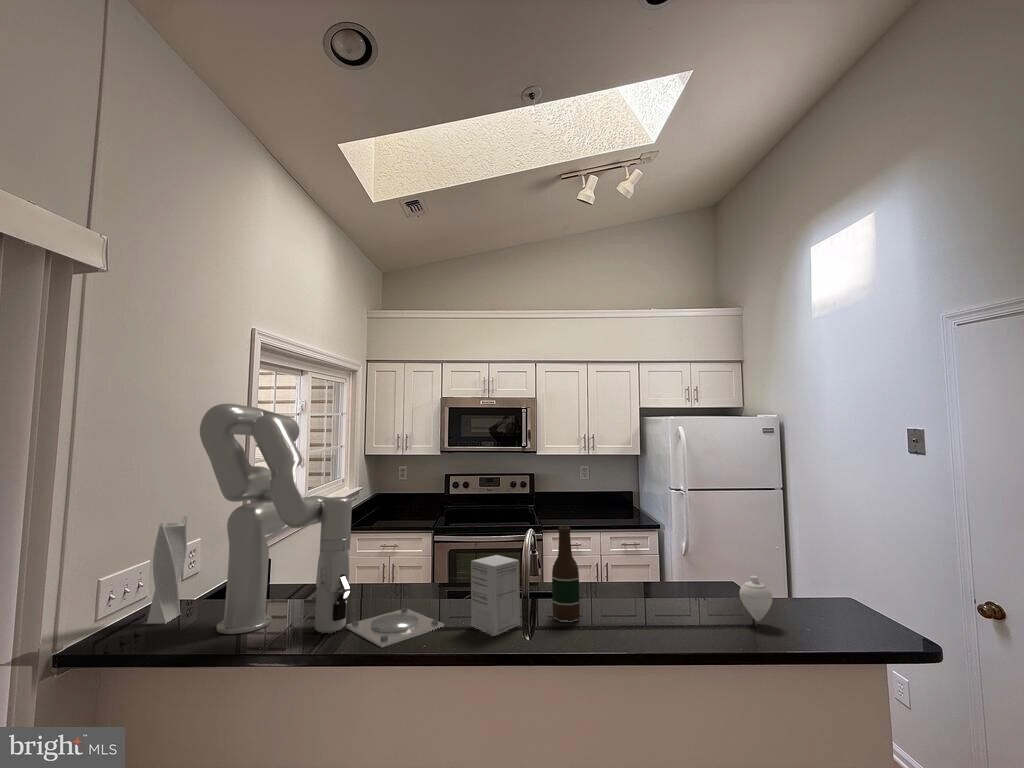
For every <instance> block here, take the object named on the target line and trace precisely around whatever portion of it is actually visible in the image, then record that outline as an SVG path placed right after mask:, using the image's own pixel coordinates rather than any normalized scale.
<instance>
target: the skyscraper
mask: <svg viewBox="0 0 1024 768" xmlns="http://www.w3.org/2000/svg"><path fill="white" fill-rule="evenodd" d="M187 523H188V517H187V516H186V515H185V516H183V518H182V519H181V522H180V521H169V522H167V523H166V524H164V523H162V522H161V523H159V525H158V531H157V533H156V534H157V536H156V538H155V542H154V543H155V545H154V548H153V549H154V550H153V556H152V576H153V582H154V592H153V596H152V599H151V604H150V607H149V613H148V616H147V620H146V621H147V622H146V621H144V623H143V622H141V623H142V624H141V625H168V624H167V622H169V621H171V620H172V619H174V618H176V617H177V616H179V615H181V606H180V605H181V603H180V591H179V583H180V579H181V576H182V574H183V569H184V567H185V563H186V559H187V558H186V557H187V549H188V531H187V525H188V524H187ZM163 623H164V624H163Z"/></svg>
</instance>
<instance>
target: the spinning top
mask: <svg viewBox="0 0 1024 768" xmlns="http://www.w3.org/2000/svg"><path fill="white" fill-rule="evenodd" d="M749 578H750V581H746V582H744V583H743V584H742V585H741V587H740V589H739V598H740V600H741V603H743V607H745V609H746V610H747V612H748V613H749V614H750V615H751V617H752V618H753V619H754V620H755V621H756V622H757V621H759V622H760V621H762V620H763V618H764V617H765V616H766V614H768V612H769V610H770V608H771V607H772V603H773V599H774V598H773V594H772V592H771V590H770V589H769V588H768V586H767V585H765V583H762V582H761V581H760V582H759V576H757V575H750V577H749Z"/></svg>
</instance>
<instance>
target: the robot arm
mask: <svg viewBox="0 0 1024 768" xmlns="http://www.w3.org/2000/svg"><path fill="white" fill-rule="evenodd" d="M234 435H237V436H238V435H240V436H251V437H253V439H254V441H255V443H256V446H257V447H258V450H259V451H260V453H261V455H262V457H263V459H264V461H265V463H266V465H267V467H268V468H267V467H265V466H260V465H258V466H257V465H256V466H253V465H251V464H250V462H249V459H248V457H247V454H246V451H245V449H244V447H243V446H242V445H241V443H240V442H239V441H238V440H237V439H236V437H235V436H234ZM299 436H300V426H299V424H298V422H297V421H296V420H295V419H294V418H293V417H290V416H287V415H283V414H280V413H278V412H277V413H276V412H274V411H270V410H267V409H264V408H260V407H255V406H248V405H241V404H236V403H221V404H217V405H214V406H212V407H211V408H209V409H208V410H207V411H206V412H205V413H204V415H203V417H202V419H201V422H200V426H199V437H200V442H201V443H202V446H203V448H204V450H205V452H206V454H207V456H208V459H209V461H210V464H211V466H212V470H213V472H214V476H215V478H216V481H217V484H218V486H219V489H220V492H221V494H222V496H223V497H224V499H225V500H227V501H229V502H231V503H232V502H234V503H238V502H247V501H249V503H245V504H242V505H240V506H238V507H236V508H235V509H233V511H232V512H231V513H230V515H229V517H228V519H227V523H226V524H227V525H226V527H227V528H226V529H227V537H228V561H227V562H228V564H227V579H226V592H225V604H224V616H223V617H224V618H223V620H222V621H219V622H218V623H217V624H216V629H215V630H216V632H217V633H220V634H223V635H238V634H245V633H250V632H254V631H259V630H260V629H264V628H265V627H267V626H268V625H270V624H271V622H272V615H270V614H268V613H266V607H267V606H266V605H267V591H268V575H269V558H270V549H269V545H268V541H267V538H266V536H268V535H272V534H275V533H278V532H279V531H281V530H283V529H284V528H285V527H286V526H287V527H289V528H291V529H300V528H301V529H302V528H305V527H309V526H313V525H316V524H320V539H319V555H318V561H317V568H316V581H315V587H316V589H317V588H318V586H319V585H320V584H319V583H320V582H321V583H322V584H326V589H327V593H328V594H333V592H334V600H335V604H333V621H338V620H342V619H345V618H346V619H347V605H346V602H347V603H348V598H349V594H350V592H351V588H350V555H349V551H350V550H351V534H352V533H351V532H352V531H351V530H352V529H351V528H352V512H353V511H352V510H353V508H352V507H353V506H352V505H353V502H352V499H351V498H349V497H346V496H332V497H330V496H322V495H312V496H304V497H303V495H302V494H301V492H300V489H299V488H298V484H297V482H296V471H297V469H298V467H299V466H300V465H301V464H302V462H303V457H302V454H301V453H300V451H299V449H298V447H297V445H296V443H295V442H296V441H297V440H298V438H299ZM339 587H342V590H338V591H337V588H339ZM338 593H342V594H341V595H340V596H339V598H338ZM269 623H270V624H269Z"/></svg>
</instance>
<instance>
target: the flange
mask: <svg viewBox="0 0 1024 768" xmlns="http://www.w3.org/2000/svg"><path fill="white" fill-rule="evenodd" d="M443 626H444V627H445V623H443V622H441V621H439V620H436V619H433V618H431V617H430V616H429V617H428V616H425V615H424V614H421V613H419V612H416V611H413V610H412V609H409V608H407V607H401V608H400V609H398V610H394V611H391V612H386V613H383V614H380V615H377V616H372V617H368V618H366V619H361V620H354V621H352V622H351V623H348V624H346V625H345V628H346V629H347V630H349V631H350V632H352V633H354V634H357V636H360V637H362V638H363V639H365V640H367V641H369V642H371V643H372V644H374V645H376V646H377V647H380V648H385V647H387V646H391V645H393V644H397V643H400V642H402V641H406V640H409V639H411V638H415V637H418V636H421V635H423V634H427V633H430V632H432V630H433V631H436V630H438V629H437V628H439V629H441V628H440V627H442V628H444V627H443ZM435 629H436V630H435ZM429 631H430V632H429Z"/></svg>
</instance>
